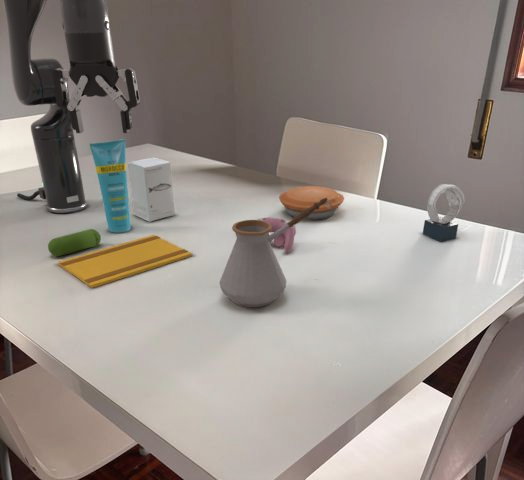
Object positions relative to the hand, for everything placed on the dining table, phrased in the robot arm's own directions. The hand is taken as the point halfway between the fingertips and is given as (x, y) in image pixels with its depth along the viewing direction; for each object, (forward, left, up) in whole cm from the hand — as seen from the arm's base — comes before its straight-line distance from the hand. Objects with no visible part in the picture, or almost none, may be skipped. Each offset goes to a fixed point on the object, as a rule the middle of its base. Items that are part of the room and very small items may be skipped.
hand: (103, 132), depth 102 cm
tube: (-14, +7, -24) cm, 29 cm away
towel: (+3, -1, -24) cm, 24 cm away
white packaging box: (-17, +18, -24) cm, 34 cm away
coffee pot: (+33, +12, -24) cm, 43 cm away
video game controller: (+17, +25, -24) cm, 39 cm away
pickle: (-9, -6, -24) cm, 26 cm away
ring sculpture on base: (+37, +56, -24) cm, 72 cm away
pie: (+7, +47, -24) cm, 54 cm away
